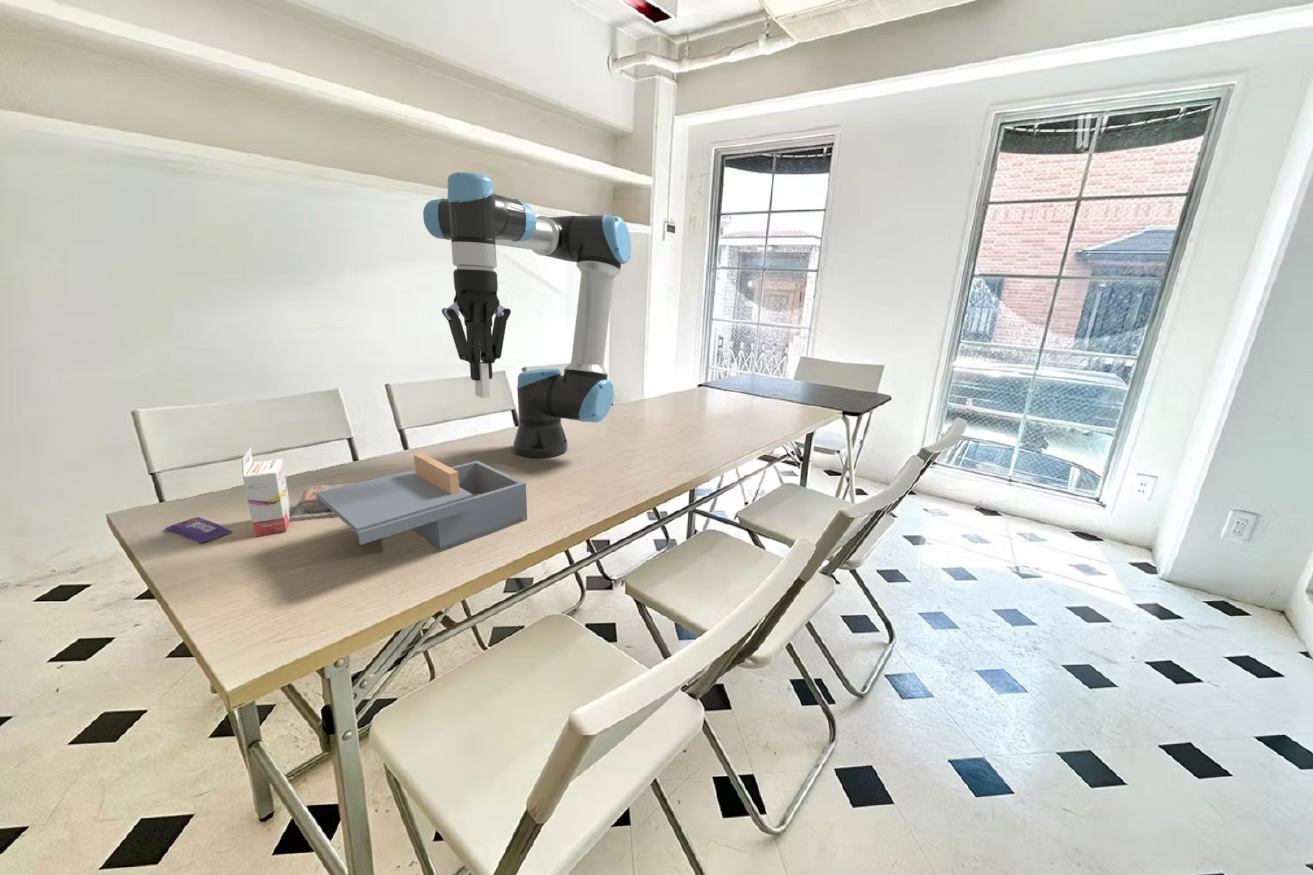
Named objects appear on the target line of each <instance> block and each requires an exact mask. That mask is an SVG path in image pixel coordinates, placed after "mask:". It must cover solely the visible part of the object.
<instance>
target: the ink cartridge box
mask: <svg viewBox="0 0 1313 875" xmlns="http://www.w3.org/2000/svg"><path fill="white" fill-rule="evenodd" d="M253 460H254V459H253V448H252V447H249V449H248V450H247V452H245V454H244V456H242V458H241V469H242V470H241V472H242V479H243V483H244V484H243V486H244V487H245V493H246V494H245V495H246V499H247V503H248V508H249V512H250V517H251V523H252V527H253V532H254V536H255V537H258V536H265V535H272V534H278V533H285V532H287V530H288V527H289V524H290V521H291V520H290V517H291V516H292V514H293V513H292V510H291V508H292V507H291V502H290V496H289V490H288V484H287V478H286V472H285V466H284V459H283V458H279V459H278V458H277V459H270V460H263V461H253Z"/></svg>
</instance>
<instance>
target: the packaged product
mask: <svg viewBox="0 0 1313 875" xmlns="http://www.w3.org/2000/svg"><path fill="white" fill-rule="evenodd" d="M356 483H357V482H350V483H336V484H332V483H331V484H323V485H321V484H320V485H311V486H306V487H305V488H304V490H303V493H302V496H301V497H300V498H301V500H300V503H299V504H298V506H297V507H296V508H295V509H294V511H292V512H293V513H292V515H291V517H290V521H291V522H293V521H304V520H311V519H324V518H339V517H338V516H337V515H336V514H334V513H333V512H332V511H331V510H330V509H329V508H328V507H327V506H326V505H324V504H323V505H319V506H318V505H317V499H316V493H317V492H321V491H326V490H330V489H334V488H338V487H343V486H347V485H351V484H356Z"/></svg>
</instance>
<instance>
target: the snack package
mask: <svg viewBox="0 0 1313 875" xmlns="http://www.w3.org/2000/svg"><path fill="white" fill-rule="evenodd" d="M164 530H167V531H170V532H173V533H175V534H178V535H180V536H183V537H185V538H187V539H190V540H192V541H194V542H197V543H199V544H201V543H204V542H207V541H210V540H213V539H216V538H218V537H221V536H224V535H227V534H229V533H232V532H233V530H231V529H230V530H229V529H227V528H225V527H224V526H222V525H220V524H218V523H216V522H214V521H213V522H212V521H210V520H208V519H205V518H202V517H199V516H196V517H193V518H189V519H187V520H183V521H179V522H178V523H174V524H171V525H169V526H166V527H164Z"/></svg>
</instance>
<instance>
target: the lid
mask: <svg viewBox="0 0 1313 875" xmlns="http://www.w3.org/2000/svg"><path fill="white" fill-rule="evenodd" d="M413 460H414V469H412V470H408V471H403V472H399V473H394V474H390V475H386V476H382V477H377V478H372V479H370V480H365V481H361V482H355V483H356V484H351V485H347V486H343V487H338V488H334V489H330V490H326V491H321V492H317V493H316V499H317V505H318V506H319V505H323V504H324V505H326V506H327V507H328V508H329V509H330V510H331V511H332V512H333V513H334V514H336V515H337V516H338V517H337V518H339V520H341V521H343V523H345V525H347V527H348V528H350V529H351V530H352V531H353V532H355V534H356V535H357V536H358V537H357V538H358V544H359V545H361V546H362V545H365V544H367V543H372V542H373V541H377V540H381V539H384V538H386V537H389V536H390V537H391V536H393V535H396V534H399V533H402V532H405V531H408V530H411V529H412V528H415V527H418V526H421V525H425V524H428V523H431V522H434V521H437V520H440V519H443V518H447V517H450V516H453V515H456V514H459V513H462V512H466V511H469V510H472V509H475V508H476V507H475V498H474V497H473V494H471V493H469V492H467V491H466V490H464V489H462V488H460V487H459V478H458V471H456V470H454V469H452V468H450V467H451V466H448V465H446V464H444V463H443V462H441V461H438V460H437V459H434V458H433V457H431V456H430V455H427V454H425V453H423V452H420V453H416V454H413Z"/></svg>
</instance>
